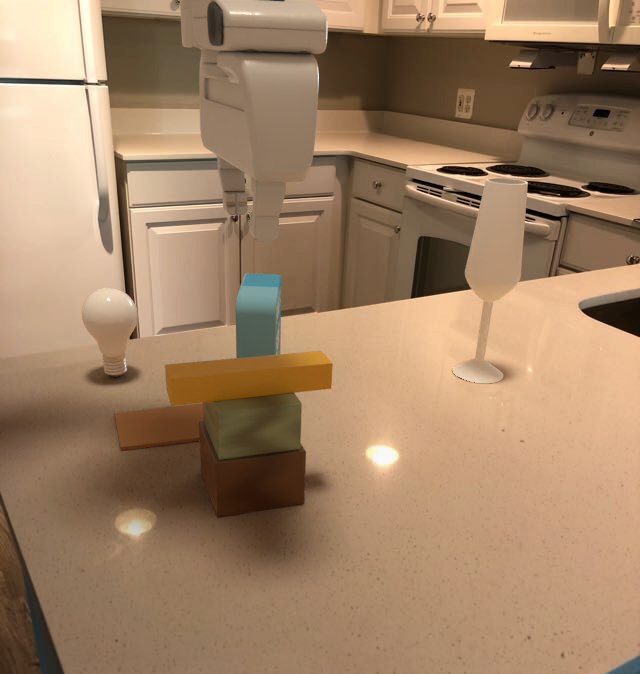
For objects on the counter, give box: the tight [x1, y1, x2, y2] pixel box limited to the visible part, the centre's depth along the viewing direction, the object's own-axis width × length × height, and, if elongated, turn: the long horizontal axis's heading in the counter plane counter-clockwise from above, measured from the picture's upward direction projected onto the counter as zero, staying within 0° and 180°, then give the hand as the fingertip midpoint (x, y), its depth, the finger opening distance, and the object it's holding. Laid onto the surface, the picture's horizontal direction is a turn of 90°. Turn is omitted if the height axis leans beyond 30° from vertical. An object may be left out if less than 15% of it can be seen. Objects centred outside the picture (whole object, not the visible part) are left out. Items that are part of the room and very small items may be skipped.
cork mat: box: [114, 402, 204, 451], centre depth 77 cm, size 14×8×1 cm, turn 109°
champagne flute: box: [452, 177, 529, 384], centre depth 87 cm, size 7×7×24 cm
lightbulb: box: [81, 287, 139, 378], centre depth 85 cm, size 6×6×11 cm
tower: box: [199, 393, 307, 518], centre depth 64 cm, size 8×8×10 cm
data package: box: [235, 272, 282, 358], centre depth 86 cm, size 12×4×12 cm, turn 0°
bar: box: [164, 350, 334, 407], centre depth 61 cm, size 14×3×2 cm, turn 109°
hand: (248, 225), depth 55 cm, fingers open, 8 cm apart
